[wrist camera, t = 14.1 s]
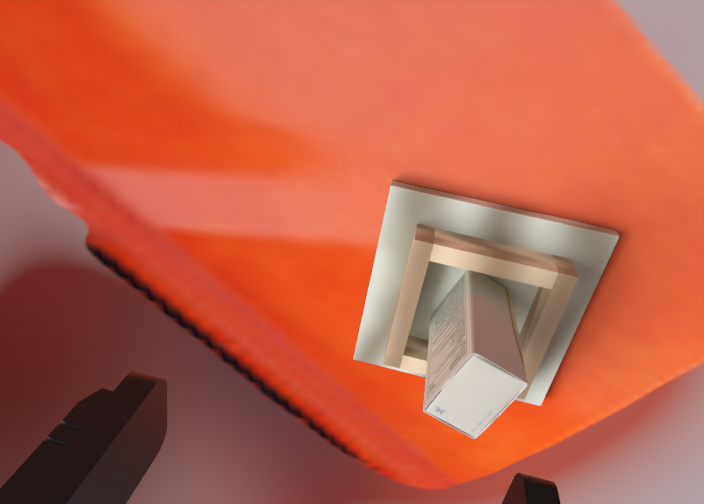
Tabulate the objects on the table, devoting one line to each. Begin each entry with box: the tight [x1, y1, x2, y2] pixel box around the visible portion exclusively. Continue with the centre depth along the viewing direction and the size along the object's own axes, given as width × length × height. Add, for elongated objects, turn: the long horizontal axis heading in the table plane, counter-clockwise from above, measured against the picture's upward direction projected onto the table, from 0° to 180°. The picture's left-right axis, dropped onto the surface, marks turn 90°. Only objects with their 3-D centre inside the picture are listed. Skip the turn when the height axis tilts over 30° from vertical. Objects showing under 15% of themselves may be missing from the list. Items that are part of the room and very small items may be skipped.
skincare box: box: [423, 270, 528, 439], centre depth 39 cm, size 6×4×12 cm
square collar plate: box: [353, 180, 620, 406], centre depth 44 cm, size 18×18×4 cm
